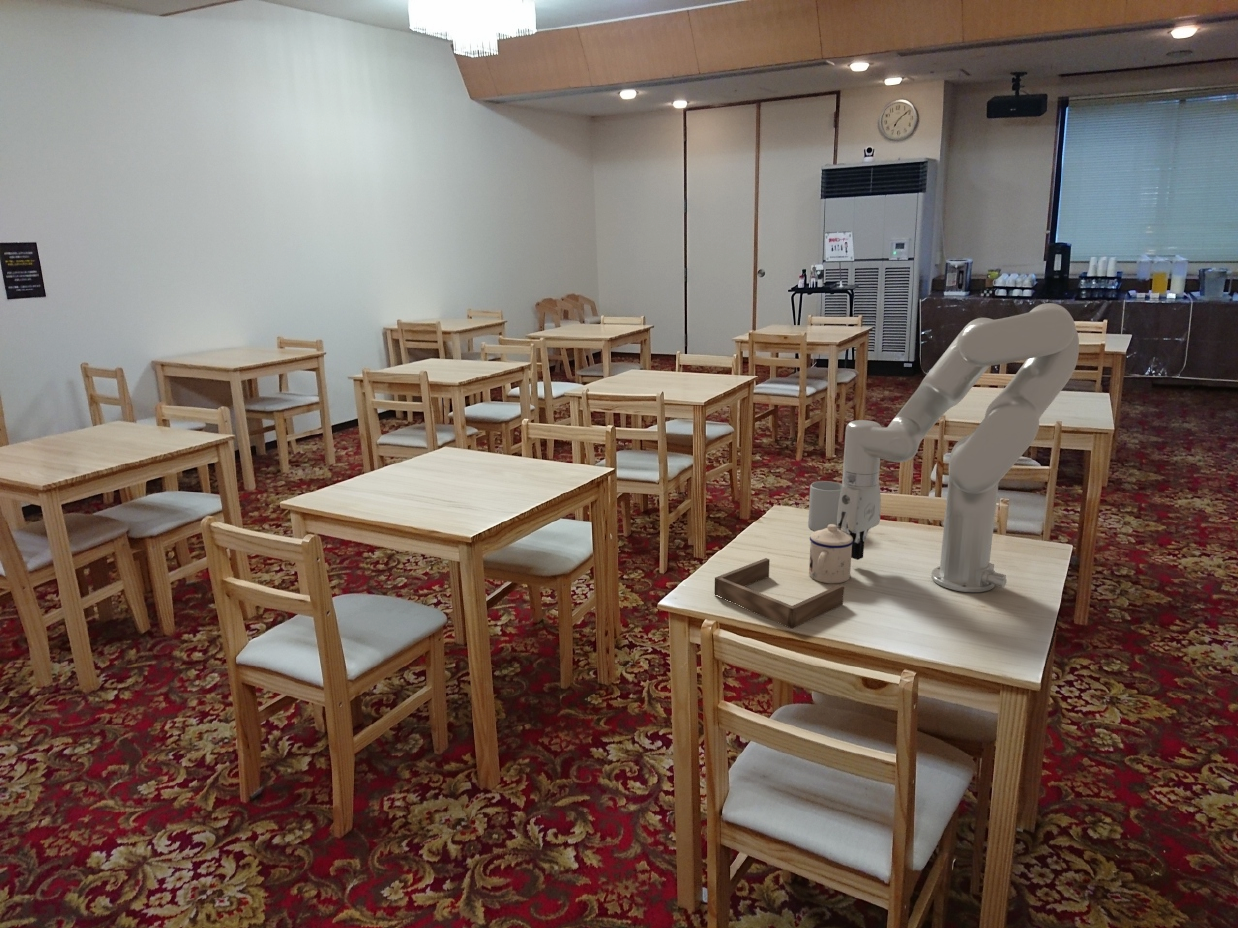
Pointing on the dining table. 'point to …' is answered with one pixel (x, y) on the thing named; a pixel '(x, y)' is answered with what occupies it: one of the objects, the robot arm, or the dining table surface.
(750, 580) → the box
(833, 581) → the teacup with lid
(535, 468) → the dining table surface
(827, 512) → the mug
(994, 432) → the robot arm
